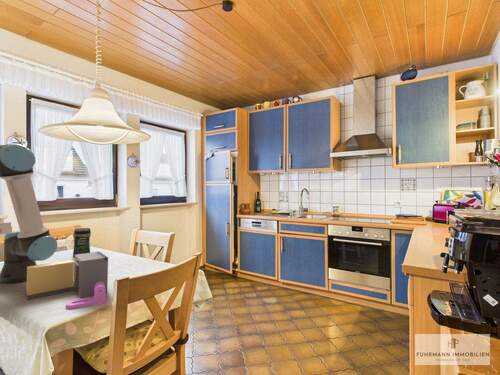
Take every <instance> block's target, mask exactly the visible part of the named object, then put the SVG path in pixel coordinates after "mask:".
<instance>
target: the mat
mask: <svg viewBox="0 0 500 375" xmlns="http://www.w3.org/2000/svg"><path fill="white" fill-rule="evenodd" d="M24 291H25V295H26V300H27V301H31V300H36V299H40V298H45V297H50V296H54V295H59V294H64V293H69V292H74V291H75V288H74V283H73V287H68V288H63V289H58V290H53V291H48V292H43V293H38V294H33V295H28V296H27V293H26V289H25V290H24ZM75 292H76V291H75Z"/></svg>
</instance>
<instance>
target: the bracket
mask: <svg viewBox="0 0 500 375" xmlns="http://www.w3.org/2000/svg"><path fill="white" fill-rule="evenodd" d="M106 293H107V292H106V290H105V284H104V283H103V282H98V283H96V284H95V287H94V295H92V296H88V297H83V298H77V299H72V300H69V301H67V302H66V303H65V309H68V310H74V309H78V308H84V306H85V307H90V306H89V305H91V306H95V305H94V304H96V305H101V304H100V303H102V304H106Z"/></svg>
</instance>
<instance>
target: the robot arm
mask: <svg viewBox="0 0 500 375" xmlns="http://www.w3.org/2000/svg"><path fill="white" fill-rule="evenodd" d="M35 164H36V156H35V153H34V152H33V151H32V150H31V149H30V148H29V147H27V146H26V145H22V144H18V143H17V144H16V143H9V144H1V145H0V179H2V180H4V181H5V183H6V187H7V191H8V193H9V198H10V201H11V204H12V208H13V210H14V214H15V218H16V221H17V224H18V228H19V231H13V226H12V222H11V221H8V222H0V235H4V240H3V242H4V244H3V247H4V248H3V253H4V254H3V265H2V267H1V270H0V283H2V284H10V283H12V284H13V283H21V282H24V281H26V282H27V266H34V265H38V264H37V261H38V262H39V261H40V262H42V261H45V260H48V259H50V258H51V257H53V255H54V254H55V252H56V251H57V249H58V241H57V239H56V237H54V236H52V235H51V234H50V229H49V227H46V226H44V223H43V219H42V215H41V212H40V207H39V205H38V200H37V196H36V193H35V190H34V189H35V188H34V185H33V182H32V176H33V175H34V173H35V172H34V169H33V167H34V165H35Z"/></svg>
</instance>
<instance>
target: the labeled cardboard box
mask: <svg viewBox="0 0 500 375" xmlns="http://www.w3.org/2000/svg"><path fill="white" fill-rule="evenodd" d="M73 283H74V260H73V259H72V260H65V261H64V260H63V261H57V262H50V263H42V264H37V265H34V266H27V280H26V289H25V290H26V292H25V294H26V293H27V296H28V295H33V294H38V293H43V292H48V291H53V290H58V289H63V288H68V287H73ZM27 296H26V297H27Z"/></svg>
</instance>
